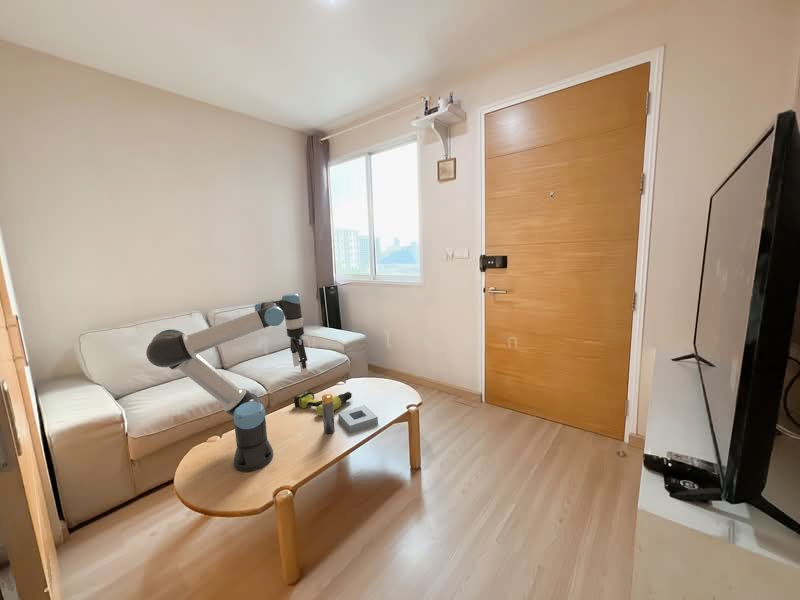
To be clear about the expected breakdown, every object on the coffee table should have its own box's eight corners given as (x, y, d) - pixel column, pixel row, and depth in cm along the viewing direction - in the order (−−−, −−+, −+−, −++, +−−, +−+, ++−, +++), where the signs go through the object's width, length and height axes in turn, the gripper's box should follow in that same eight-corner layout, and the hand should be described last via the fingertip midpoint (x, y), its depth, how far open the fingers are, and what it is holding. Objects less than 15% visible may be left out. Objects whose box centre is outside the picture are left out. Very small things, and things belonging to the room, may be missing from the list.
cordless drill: (327, 390, 203) (356, 400, 188) (293, 407, 183) (323, 420, 169) (326, 379, 201) (355, 389, 187) (292, 395, 182) (322, 408, 167)
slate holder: (350, 432, 156) (349, 425, 155) (338, 419, 168) (338, 412, 168) (377, 423, 164) (377, 416, 163) (364, 411, 176) (364, 405, 176)
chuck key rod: (326, 435, 154) (323, 399, 151) (322, 430, 158) (320, 395, 155) (336, 432, 156) (334, 397, 153) (332, 427, 161) (330, 393, 158)
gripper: (310, 330, 143) (316, 376, 147) (296, 320, 164) (301, 360, 168) (293, 334, 139) (299, 380, 143) (280, 323, 160) (286, 364, 164)
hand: (300, 370), depth 155 cm, fingers open, 13 cm apart
